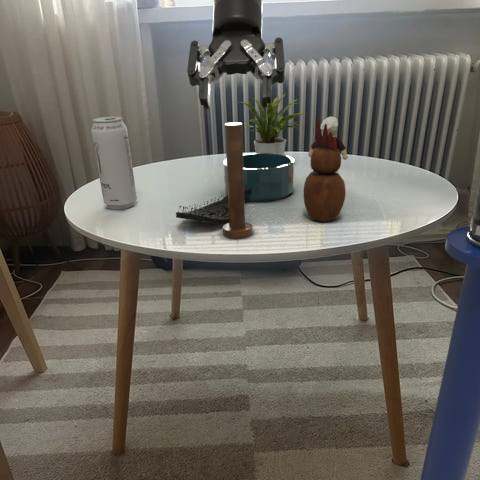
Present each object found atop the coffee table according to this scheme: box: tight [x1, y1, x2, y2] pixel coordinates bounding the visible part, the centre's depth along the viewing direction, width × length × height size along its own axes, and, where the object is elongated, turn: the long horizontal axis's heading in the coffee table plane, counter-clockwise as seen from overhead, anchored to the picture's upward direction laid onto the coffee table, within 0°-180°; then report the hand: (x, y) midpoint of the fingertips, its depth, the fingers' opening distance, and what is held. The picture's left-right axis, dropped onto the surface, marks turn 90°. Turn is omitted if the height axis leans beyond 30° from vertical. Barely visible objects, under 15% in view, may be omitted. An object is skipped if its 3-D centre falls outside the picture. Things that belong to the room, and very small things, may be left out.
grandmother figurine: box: [307, 115, 349, 174], centre depth 95 cm, size 8×4×13 cm, turn 80°
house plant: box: [239, 91, 307, 155], centre depth 106 cm, size 14×14×16 cm
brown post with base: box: [222, 121, 253, 240], centre depth 72 cm, size 5×5×16 cm
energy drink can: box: [90, 116, 138, 211], centre depth 87 cm, size 6×6×15 cm
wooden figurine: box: [302, 119, 346, 222], centre depth 77 cm, size 7×6×15 cm
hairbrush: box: [175, 189, 251, 226], centre depth 85 cm, size 8×4×25 cm
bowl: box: [222, 152, 295, 203], centre depth 94 cm, size 13×13×6 cm
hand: (235, 104), depth 71 cm, fingers open, 8 cm apart
